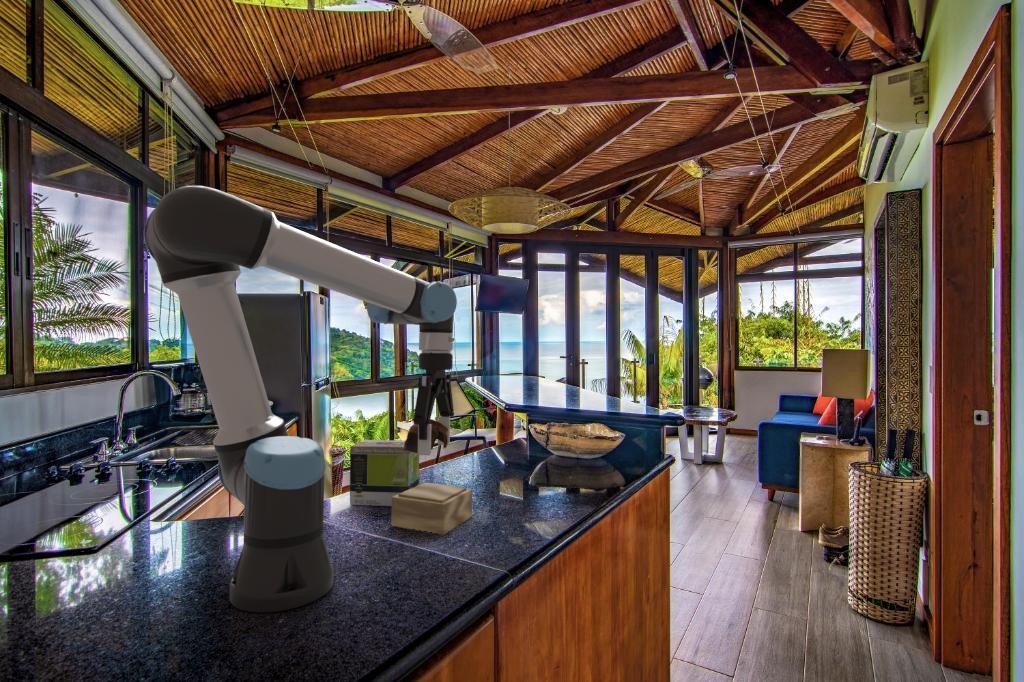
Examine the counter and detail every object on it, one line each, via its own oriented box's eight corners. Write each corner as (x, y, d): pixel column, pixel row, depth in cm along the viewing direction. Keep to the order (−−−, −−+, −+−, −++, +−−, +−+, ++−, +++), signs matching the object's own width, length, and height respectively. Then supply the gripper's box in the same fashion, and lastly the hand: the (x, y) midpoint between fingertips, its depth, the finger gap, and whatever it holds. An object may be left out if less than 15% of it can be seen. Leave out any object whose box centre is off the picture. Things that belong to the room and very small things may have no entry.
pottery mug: (395, 450, 119) (410, 417, 122) (432, 466, 121) (445, 433, 125) (409, 446, 108) (424, 410, 112) (449, 463, 111) (463, 428, 114)
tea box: (419, 496, 135) (420, 439, 135) (408, 508, 125) (409, 447, 125) (363, 494, 137) (364, 438, 137) (348, 505, 127) (349, 445, 127)
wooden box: (443, 535, 108) (443, 502, 108) (391, 526, 113) (391, 494, 113) (471, 517, 120) (472, 487, 120) (423, 510, 125) (424, 480, 125)
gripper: (432, 352, 105) (430, 461, 104) (467, 352, 128) (466, 441, 127) (397, 352, 106) (396, 459, 106) (438, 351, 129) (437, 439, 129)
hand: (434, 449), depth 117 cm, fingers closed on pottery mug, 11 cm apart
